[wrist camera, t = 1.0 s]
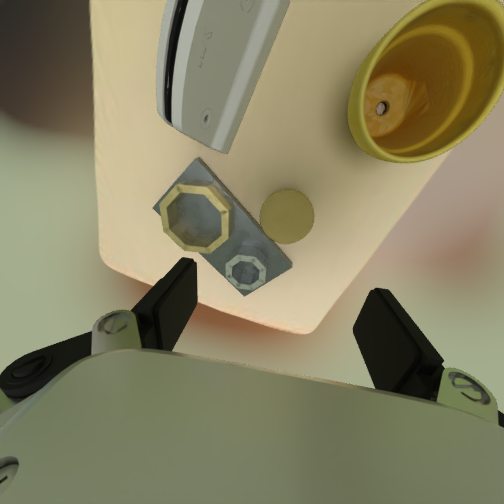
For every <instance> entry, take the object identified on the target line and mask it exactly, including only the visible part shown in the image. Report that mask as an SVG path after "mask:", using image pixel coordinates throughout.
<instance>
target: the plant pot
mask: <svg viewBox="0 0 504 504" xmlns="http://www.w3.org/2000/svg"><path fill="white" fill-rule="evenodd" d="M503 90H504V6H503V5H502V4H501V3H500V2H499V1H498V0H427V1H425V2H423V3H422V4H420V5H419V6H417V7H416V8H414V9H413V10H411V11H410V12H409V13H408V14H406V15H405V16H404V17H403V18H402V19H401V20H399V21H398V22H397V23H396V24H395V25H394V26H393V27H392V28H391V29H390V30H389V31H388V32H387V33H386V34H385V36H384V37H383V38H382V39H381V40H380V41H379V42H378V44H377V45H376V46H375V47H374V48H373V50H372V51H371V52H370V54H369V55H368V56H367V58H366V59H365V61H364V62H363V64H362V65H361V67H360V69H359V71H358V73H357V75H356V77H355V80H354V82H353V85H352V88H351V92H350V96H349V102H348V124H349V127H350V131H351V134H352V136H353V138H354V140H355V142H356V143H357V144H358V146H359V147H360V148H361V149H362V150H363V151H364V152H366V153H367V154H369V155H371V156H372V157H375V158H377V159H380V160H384V161H389V162H395V163H415V162H420V161H424V160H428V159H431V158H433V157H436V156H438V155H440V154H442V153H444V152H446V151H448V150H450V149H451V148H453V147H455V146H456V145H457V144H459V143H460V142H462V141H463V140H464V139H465V138H467V137H468V136H469V135H470V134H471V133H472V132H473V131H474V130H475V129H476V128H477V127H478V126H479V125H480V124H481V123H482V122H483V121H484V120H485V119H486V117H487V116H488V115H489V113H490V112H491V110H492V109H493V108H494V106H495V104H496V103H497V101H498V100H499V98H500V96H501V94H502V92H503ZM380 102H385V103H386V105H387V109H386V111H385V113H384V114H382V115H378V114H377V113H376V108H377V106H378V104H379V103H380Z"/></svg>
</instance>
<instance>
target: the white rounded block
mask: <svg viewBox="0 0 504 504" xmlns="http://www.w3.org/2000/svg"><path fill="white" fill-rule="evenodd" d="M289 4H290V1H289V0H167V1H166V5H165V10H164V14H163V19H162V25H161V31H160V38H159V46H158V56H157V70H156V98H157V111H158V113H159V115H160V116H161V118H162V119H163V120H164V121H165V122H166V123H167V124H168V125H170V126H172V127H174V128H175V129H176V130H178V131H179V132H181V133H183V134H185V135H187V136H189V137H190V138H192V139H194V140H196V141H198V142H200V143H202V144H204V145H206V146H208V147H210V148H213V149H215V150H218V151H220V152H223V153H227V154H228V152H229V150H230V147H231V145H232V142H233V140H234V138H235V135H236V133H237V130H238V128H239V125H240V123H241V120H242V118H243V116H244V113H245V111H246V108H247V106H248V103H249V101H250V99H251V96H252V94H253V91H254V89H255V86H256V84H257V81H258V79H259V77H260V74H261V72H262V69H263V67H264V64H265V62H266V60H267V57H268V55H269V52H270V50H271V47H272V45H273V43H274V40H275V38H276V35H277V33H278V30H279V28H280V25H281V23H282V21H283V18H284V16H285V13H286V11H287V8H288V6H289Z"/></svg>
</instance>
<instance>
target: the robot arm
mask: <svg viewBox="0 0 504 504" xmlns="http://www.w3.org/2000/svg"><path fill="white" fill-rule="evenodd" d="M197 301H198V296H197V263H196V262H194V260H193V259H191V258H185V257H182V258H181V259H180V260H179V261H178V262H177V263H176V264H175V265H174V267H173V268H172V269H171V270H170V271H169V272H168V273H167V274H166V275H165V276H164V277H163V278H161V279H160V280H159V281H158V282H157V283H156V284H155V285H154V286H153V287H152V288H151V289H150V290H149V291H148V293H147V294H146V295H145V296H144V297H143V298H142V299H141V300H140V301H139V302H138V303H137V304H136V305H135V306H134V308H133V309H132V310H131V311H129V310H116V311H112V312H110V313H107V314H106V315H104V316H102V317H101V318H99V319H98V320H97V321H96V322H95V324H94V325H93V329H92V331H91V332H88V333H85V334H82V335H79V336H76V337H73V338H70V339H68V340H65V341H62V342H59V343H56V344H53V345H50V346H48V347H45V348H42V349H39V350H36V351H33V352H31V353H28V354H26V355H24V356H22V357H21V358H19V359H17V360H15V361H14V362H13V363H11V364H10V365H9V366H7V367H6V369H5V370H4V371H3V372H2V373H1V375H0V504H504V414H503V413H501V412H500V411H498V407H497V402H496V399H495V398H494V396H493V394H492V393H491V392H490V391H489V390H488V389H487V388H486V387H485V386H484V385H483V384H482V383H481V382H480V381H478V380H477V379H475V378H474V377H472V376H471V375H470V374H468V373H466V372H464V371H462V370H458V369H456V368H446V369H445V368H444V367H443V366H442V363H443V362H444V360H443V358H442V357H441V356H440V354H439V353H438V352H437V351H436V349H435V348H434V347H433V346H432V344H431V343H430V342H429V340H428V339H427V338H426V337H425V335H424V334H423V333H422V331H421V330H420V329H419V327H418V326H417V325H416V324H415V322H414V321H413V320H412V319H411V317H410V316H409V315H408V313H407V312H406V311H405V310H404V308H403V307H402V306H401V305H400V303H399V302H398V301H397V299H396V298H395V297H394V295H393V294H392V293H391V292H390V291H389V290H388V289H382V288H375V289H374V290H371V291H370V292H369V294H368V296H367V298H366V301H365V303H364V305H363V307H362V309H361V311H360V314H359V315H358V318H357V320H356V322H355V324H354V326H353V334H354V336H355V339H356V341H357V344H358V346H359V349H360V351H361V354H362V356H363V359H364V361H365V364H366V366H367V369H368V371H369V374H370V376H371V379H372V381H373V384H374V386H375V389H373V388H368V387H363V386H357V385H352V384H347V383H342V382H337V381H331V380H327V379H321V378H316V377H311V376H305V375H300V374H295V373H290V372H284V371H279V370H274V369H268V368H263V367H257V366H252V365H246V364H241V363H236V362H230V361H225V360H219V359H213V358H208V357H202V356H196V355H190V354H184V353H177V352H172V349H173V348H174V346H175V344H176V342H177V340H178V339H179V337H180V335H181V333H182V331H183V329H184V328H185V326H186V324H187V322H188V320H189V318H190V316H191V315H192V313H193V311H194V309H195V307H196V305H197Z"/></svg>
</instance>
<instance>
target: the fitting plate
mask: <svg viewBox="0 0 504 504" xmlns="http://www.w3.org/2000/svg"><path fill="white" fill-rule="evenodd" d="M153 209H154V210H155V211H156V212H157V213H158V214H159V215H160V216H161V219H162V225H163V231H164V232H165V233H166V234H167V235H168V236H169V237H170V238H171V239H172V240H173V241H174V242H175V243H177V244H178V245H179V246H180V247H181V248H182V249H183V250H184V251H191V252H199V253H200V254H201V255H202V256H203V257H204V258H205V259H206V260H207V261H208V262H209V263H210V264H211V265H212V266H213V267H214V268H215V269H216V270H217V271H218V272H219V273H220V274H222V275H223V276H224V277H225V278H226V279H227V280H228V281H229V282H230V283H231V284H232V285H233V286H234V287H235V288H236V289H237V290H238V291H239V292H240V293H241V294H242V295H243V296H244V297H245V296H246V295H248V294H250V293H251V292H253V291H255V290H256V289H258V288H259V287H261V286H263V285H264V284H266V283H268V282H269V281H271V280H272V279H274V278H276V277H277V276H279V275H280V274H282V273H284V272H285V271H287V270H289V269H290V268H292V262H291V261H290V260H289V259H288V257H287V256H286V255H285V254H284V253H283V252H282V251H281V249H280V248H279V247H278V246H277V245H276V244H275V243H274V241H273V240H272V239H271V238H269V237H268V236H267V235H266V233H265V232H264V230H263V229H262V228H261V227H260V225H259V224H258V223H257V222H256V221H255V220H254V219H253V217H252V216H251V215H250V214H249V213H248V212H247V211H246V210H245V208H244V207H243V206H242V205H241V204H240V203H239V202H238V200H237V199H236V198H235V197H234V196H233V195H232V194H231V192H230V191H229V190H228V189H227V188H226V187H225V186H224V184H223V183H222V182H221V181H220V180H219V179H218V178H217V176H216V175H215V174H214V173H213V172H212V171H211V170H210V168H209V167H208V166H207V165H206V164H205V163H204V162H203V160H202V159H201V158H200V157H199V158H195V159H194V161H193V162H192V163H191V164H190V165H189V166H188V168H187V169H186V170H185V171H184V172H183V173H182V174H181V176H180V177H179V178H178V179H177V180H176V181H175V182H174V184H173V185H172V186H171V187H170V188H169V189H168V191H167V192H166V193H165V194H164V195H163V196H162V197H161V199H160V200H159V201H158V202H157V203H156V204H155V206H154V207H153Z"/></svg>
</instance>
